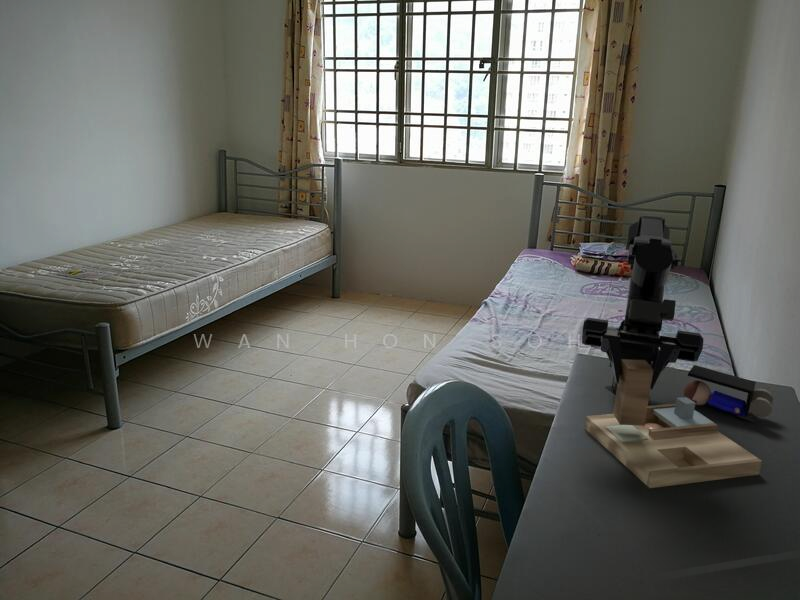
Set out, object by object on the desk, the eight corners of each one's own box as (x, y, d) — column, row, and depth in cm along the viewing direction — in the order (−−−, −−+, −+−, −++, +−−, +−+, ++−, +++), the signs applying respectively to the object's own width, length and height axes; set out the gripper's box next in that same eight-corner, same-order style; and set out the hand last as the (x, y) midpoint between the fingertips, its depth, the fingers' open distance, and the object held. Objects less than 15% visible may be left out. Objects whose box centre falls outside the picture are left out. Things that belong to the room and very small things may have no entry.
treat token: (638, 431, 114) (639, 424, 114) (655, 429, 115) (656, 422, 115) (651, 441, 111) (652, 434, 110) (668, 439, 112) (670, 431, 111)
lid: (652, 413, 116) (655, 394, 115) (688, 410, 118) (691, 391, 116) (676, 430, 110) (680, 410, 108) (713, 426, 111) (717, 407, 110)
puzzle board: (583, 431, 114) (586, 411, 113) (679, 422, 119) (683, 402, 118) (649, 491, 97) (653, 468, 96) (758, 477, 102) (763, 455, 101)
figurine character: (765, 422, 124) (683, 393, 132) (778, 387, 122) (694, 360, 129) (762, 435, 119) (677, 405, 126) (776, 399, 116) (688, 370, 123)
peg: (613, 413, 109) (621, 359, 106) (636, 414, 109) (645, 360, 106) (619, 424, 105) (628, 368, 102) (644, 425, 105) (653, 369, 102)
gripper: (590, 271, 107) (576, 355, 100) (712, 286, 101) (706, 376, 94) (588, 304, 116) (575, 382, 110) (700, 319, 110) (693, 403, 104)
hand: (634, 385), depth 104 cm, fingers closed on peg, 5 cm apart
